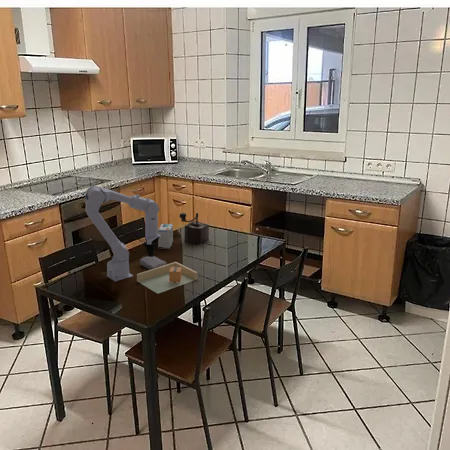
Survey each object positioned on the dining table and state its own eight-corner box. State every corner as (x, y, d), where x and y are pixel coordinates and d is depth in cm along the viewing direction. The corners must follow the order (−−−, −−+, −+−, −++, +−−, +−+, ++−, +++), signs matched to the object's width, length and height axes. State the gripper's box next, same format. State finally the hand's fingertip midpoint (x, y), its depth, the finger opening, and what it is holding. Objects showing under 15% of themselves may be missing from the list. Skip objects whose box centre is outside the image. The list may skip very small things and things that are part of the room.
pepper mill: (193, 236, 260) (193, 206, 254) (209, 239, 255) (209, 209, 249) (177, 244, 247) (177, 213, 241) (194, 248, 242) (194, 216, 236)
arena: (157, 294, 189) (157, 286, 187) (137, 282, 200) (136, 274, 198) (197, 280, 203) (197, 272, 202) (176, 269, 214) (175, 261, 213)
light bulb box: (161, 241, 250) (161, 223, 247) (173, 241, 250) (173, 223, 247) (158, 248, 240) (157, 229, 237) (170, 248, 240) (170, 229, 237)
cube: (180, 281, 199) (180, 271, 198) (169, 281, 199) (169, 271, 198) (181, 277, 204) (181, 267, 202) (170, 276, 204) (170, 266, 203)
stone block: (153, 263, 225) (137, 265, 217) (155, 254, 224) (139, 256, 216) (168, 271, 217) (152, 273, 210) (170, 262, 216) (154, 264, 209)
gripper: (157, 231, 197) (158, 259, 201) (162, 221, 211) (163, 248, 215) (141, 230, 197) (142, 259, 201) (148, 220, 211) (148, 247, 215)
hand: (152, 253), depth 208 cm, fingers open, 7 cm apart
